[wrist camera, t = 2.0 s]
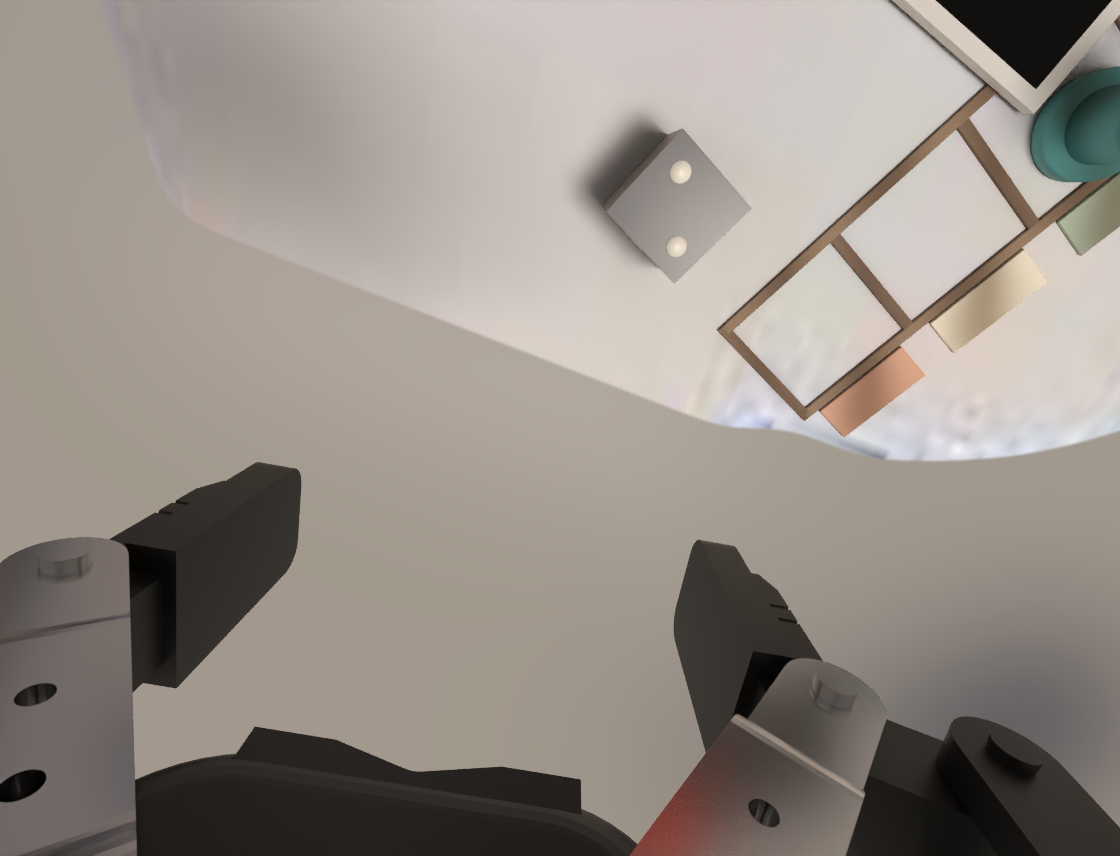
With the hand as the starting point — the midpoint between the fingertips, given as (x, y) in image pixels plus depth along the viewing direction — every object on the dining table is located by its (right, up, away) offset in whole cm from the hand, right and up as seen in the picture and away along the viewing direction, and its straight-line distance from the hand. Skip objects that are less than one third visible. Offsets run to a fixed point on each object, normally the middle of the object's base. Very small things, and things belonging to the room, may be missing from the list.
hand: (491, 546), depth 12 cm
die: (+7, +15, +21) cm, 27 cm away
